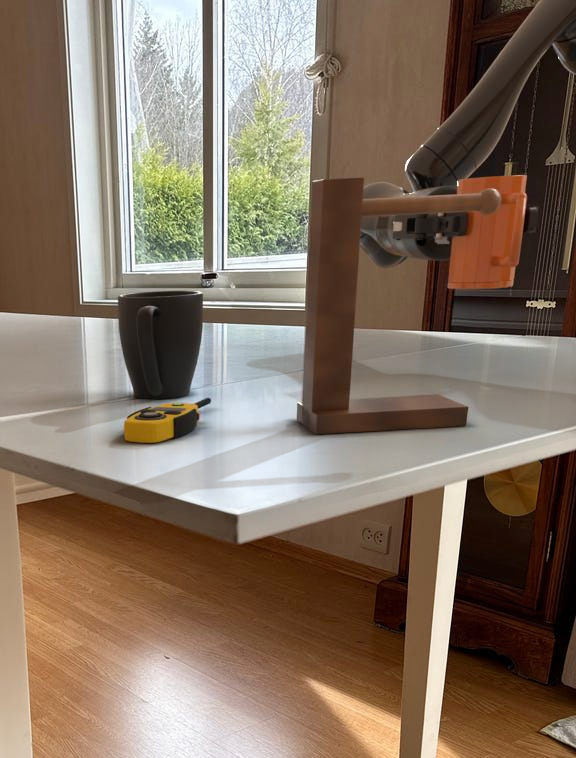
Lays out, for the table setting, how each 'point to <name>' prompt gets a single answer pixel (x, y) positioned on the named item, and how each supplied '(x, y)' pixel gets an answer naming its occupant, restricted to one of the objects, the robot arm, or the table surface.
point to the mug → (161, 340)
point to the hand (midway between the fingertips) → (498, 221)
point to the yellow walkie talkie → (162, 422)
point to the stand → (337, 312)
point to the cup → (489, 236)
